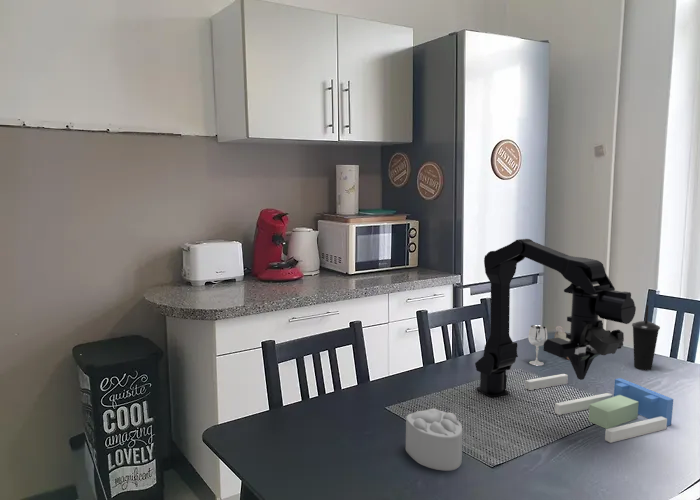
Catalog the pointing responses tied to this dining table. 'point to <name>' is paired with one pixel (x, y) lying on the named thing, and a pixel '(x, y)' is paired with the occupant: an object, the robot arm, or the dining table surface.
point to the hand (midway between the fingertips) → (580, 379)
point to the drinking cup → (644, 342)
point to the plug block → (613, 411)
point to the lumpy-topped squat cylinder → (434, 439)
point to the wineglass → (537, 340)
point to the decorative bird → (561, 334)
